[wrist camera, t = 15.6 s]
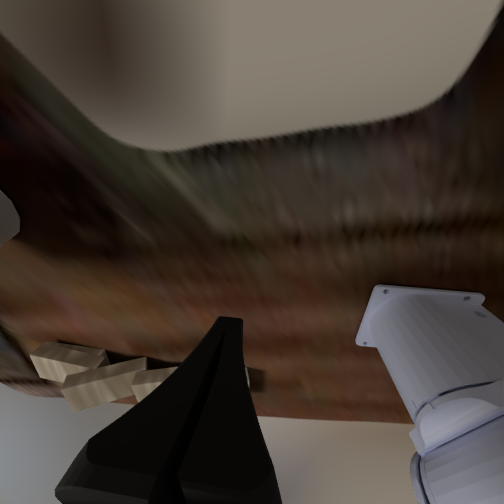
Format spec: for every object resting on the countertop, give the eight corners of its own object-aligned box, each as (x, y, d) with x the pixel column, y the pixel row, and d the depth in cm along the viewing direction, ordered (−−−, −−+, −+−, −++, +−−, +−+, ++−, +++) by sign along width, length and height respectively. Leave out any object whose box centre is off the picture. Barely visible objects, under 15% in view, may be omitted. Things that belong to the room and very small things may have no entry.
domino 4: (204, 376, 27) (131, 385, 26) (208, 398, 29) (140, 407, 28) (205, 363, 28) (136, 371, 27) (209, 385, 31) (145, 394, 30)
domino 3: (145, 368, 28) (60, 389, 25) (150, 390, 30) (73, 412, 27) (146, 356, 29) (66, 375, 26) (150, 378, 32) (78, 397, 28)
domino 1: (99, 355, 29) (39, 347, 29) (108, 378, 31) (53, 369, 32) (108, 344, 30) (52, 336, 31) (116, 366, 33) (63, 359, 33)
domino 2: (95, 369, 27) (29, 354, 27) (101, 391, 29) (40, 377, 30) (105, 357, 29) (43, 343, 29) (110, 378, 31) (52, 365, 31)
